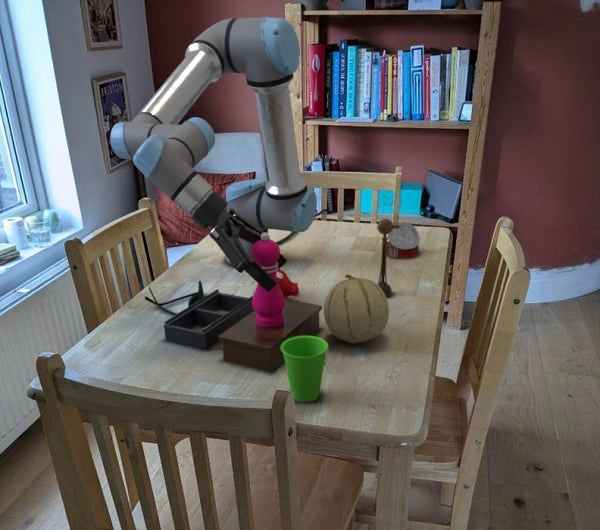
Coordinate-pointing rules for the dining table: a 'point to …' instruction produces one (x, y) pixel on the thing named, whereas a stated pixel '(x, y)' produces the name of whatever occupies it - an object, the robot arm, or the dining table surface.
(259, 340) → the brown lidded box
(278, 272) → the red white pronged ornament
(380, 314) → the cantaloupe
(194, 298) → the sunglasses
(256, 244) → the pepper mill
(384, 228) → the wooden tabletop sculpture
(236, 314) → the black rectangular open tray
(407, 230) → the canned food
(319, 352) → the cup
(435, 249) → the dining table surface
